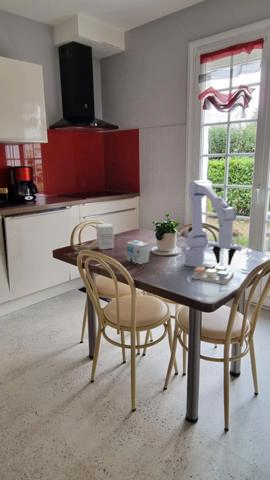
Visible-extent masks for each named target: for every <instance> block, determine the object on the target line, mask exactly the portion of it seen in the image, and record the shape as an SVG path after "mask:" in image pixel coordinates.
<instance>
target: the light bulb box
mask: <svg viewBox="0 0 270 480" xmlns="http://www.w3.org/2000/svg"><path fill="white" fill-rule="evenodd" d="M149 245H150V244H149V243H148V242H144V241H140V240H137V239H134V240H131V241H128V242H126V257H127V258H126V261H127V260H129V261H128V262H130V261H132V262H131V263H133V262H135V263H134V264H136V263H138V264H137V265H139V264H142V265H144V264H143V263H145V264H147V263H146V262H148V263H149V262H150V261H149V257H150V255H149V254H150V253H149V251H150V249H149V248H150V247H149Z"/></svg>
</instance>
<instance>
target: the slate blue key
mask: <svg viewBox="0 0 270 480" xmlns="http://www.w3.org/2000/svg"><path fill="white" fill-rule="evenodd" d="M227 271H228V270H226V271H221V270H220V271H219V272H218V274H217V276H219V277H225V278H226V277H227V276H228V275H229V272H230V271H228V272H227Z"/></svg>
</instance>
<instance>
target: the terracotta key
mask: <svg viewBox="0 0 270 480" xmlns="http://www.w3.org/2000/svg"><path fill="white" fill-rule="evenodd" d="M203 267H204V266H203ZM203 267H195V268H194V271H193V272H194V273H195V272H196V273H202V274H203V273H204V272H205V269H206V268H203Z"/></svg>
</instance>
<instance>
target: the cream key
mask: <svg viewBox="0 0 270 480" xmlns="http://www.w3.org/2000/svg"><path fill="white" fill-rule="evenodd" d="M215 269H216V268H214V269H208V270H206V274H208V275H215V274H216V273H217V270H215Z"/></svg>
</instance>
